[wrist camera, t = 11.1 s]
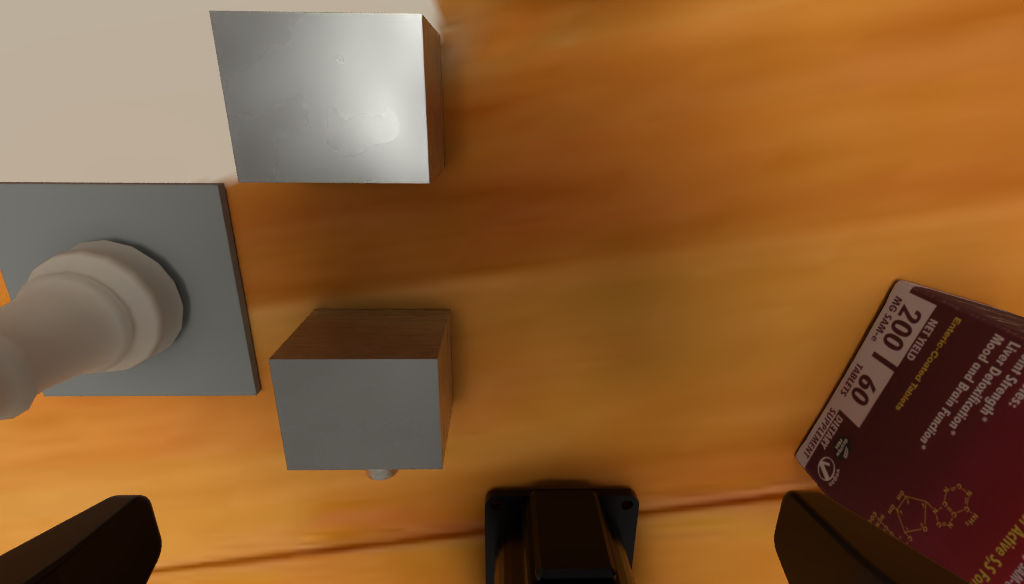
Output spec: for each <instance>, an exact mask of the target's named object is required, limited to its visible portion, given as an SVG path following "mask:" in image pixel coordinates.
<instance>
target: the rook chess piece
mask: <svg viewBox="0 0 1024 584" xmlns="http://www.w3.org/2000/svg"><path fill="white" fill-rule="evenodd" d="M182 316H183V304H182V301H181V298H180V295H179V292H178V290H177V287H176V284H175V282H174V280H173V279H172V278H171V277H170V276H169V274H168V273H167V272H166V271H165V270H164V268H163V267H162V266H161V265H160V264H159V263H158V262H156V261H154V260H153V259H151V258H150V257H148V256H146V255H145V254H143V253H142V252H140V251H138V250H137V249H135V248H134V247H132V246H128V245H123V244H119V243H115V242H111V241H107V240H100V241H92V242H84V243H79V244H77V245H76V246H74V247H73V248H71V249H70V250H68V251H64V252H59V253H57V254H56V255H54V256H53V257H51V258H49V259H48V260H46V261H45V262H43V263H42V264H40V265H39V266H38V267H36V268H35V269H34V270H33V271H32V273H31V275H30V277H29V279H28V281H27V283H25V284H24V285H22V286H21V288H20V290H19V292H18V294H17V296H16V298H15V299H14V300H12V301H11V302H9V303H7V304H6V305H4V306H2V307H1V308H0V420H4V419H12V418H15V417H16V416H18V415H20V414H21V413H23V412H25V411H27V410H28V409H29V408H30V406H31V404H32V402H33V400H34V398H35V397H36V395H37V394H39V393H40V392H42V391H44V390H46V389H48V388H51V387H53V386H55V385H57V384H60V383H62V382H64V381H66V380H69V379H71V378H73V377H75V376H78V375H80V374H92V373H103V372H111V371H120V370H126V369H130V368H133V367H136V366H137V365H139V364H141V363H142V362H144V361H146V360H148V359H149V358H151V357H153V356H155V355H157V354H158V353H160V352H162V351H163V350H165V349H167V348H168V347H170V346H171V345H172V343H173V342H174V340H175V338H176V337H177V335H178V334H179V332H180V330H181V329H182Z"/></svg>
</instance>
